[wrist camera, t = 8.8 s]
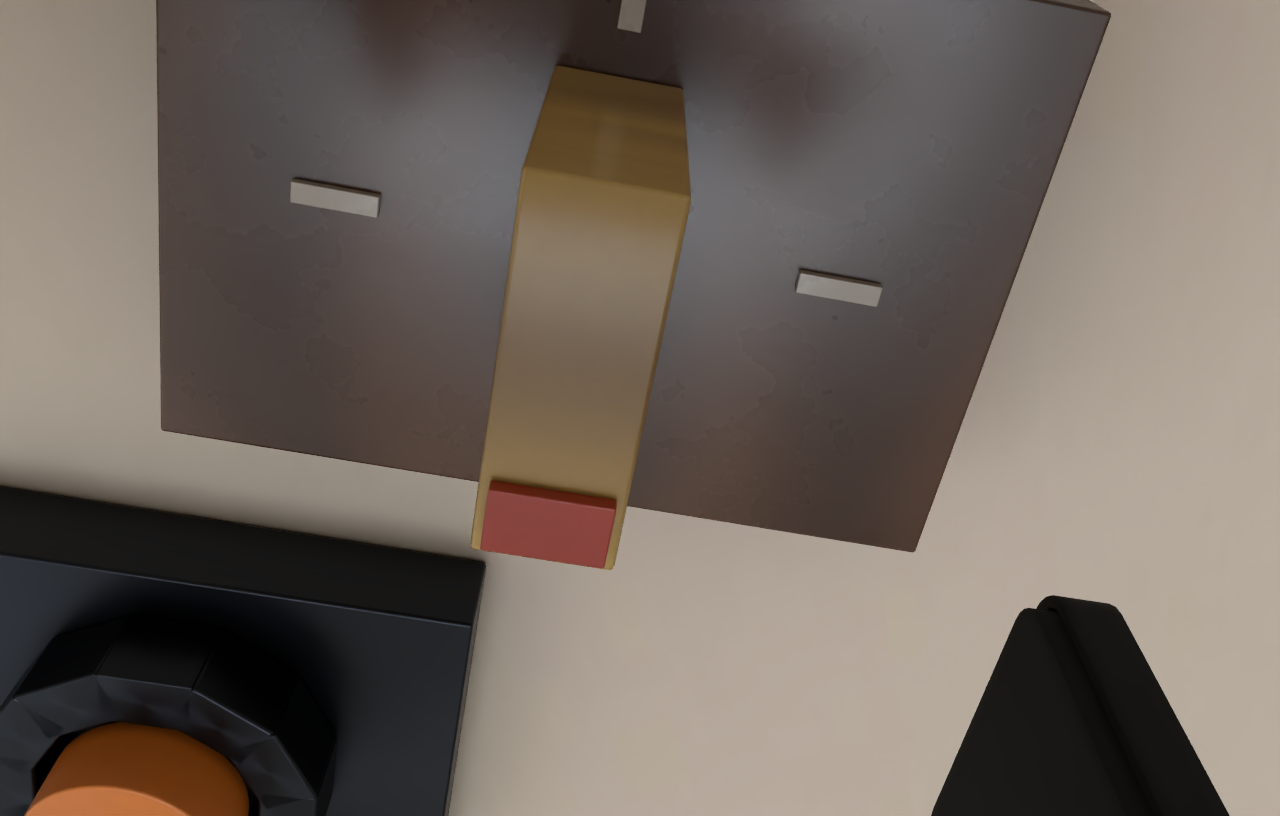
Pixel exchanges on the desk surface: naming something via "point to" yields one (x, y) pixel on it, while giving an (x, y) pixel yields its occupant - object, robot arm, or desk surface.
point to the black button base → (234, 652)
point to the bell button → (140, 776)
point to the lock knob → (582, 316)
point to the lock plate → (711, 249)
